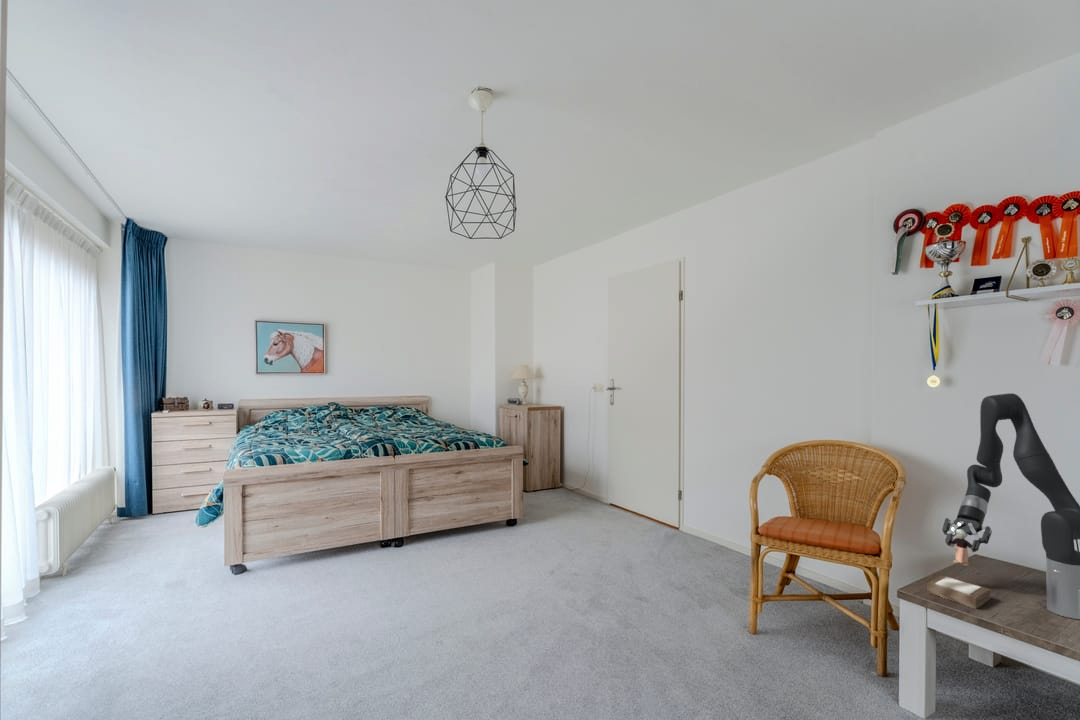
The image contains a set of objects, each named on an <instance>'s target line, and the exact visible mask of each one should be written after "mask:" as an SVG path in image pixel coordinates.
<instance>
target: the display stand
mask: <svg viewBox="0 0 1080 720" xmlns="http://www.w3.org/2000/svg"><path fill="white" fill-rule="evenodd" d="M927 592H929V593H932V594H935V595H938V596H940V597H939V598H941V597H943V598H942V599H944V598H946V599H945V600H947V599H949V600H948V601H950V600H952V601H951V602H953V601H955V602H954V603H956V602H958V603H957V604H959V603H960V605H962V604H963V605H962V606H965V605H966V607H968V606H969V608H972V609H974V610H976V609H978V608H980V607H981V606H982V605H984V604H985V602H986V603H987V602H988V600H989V601H990V600H991V589H990V588H986V587H984V586H980V585H977V584H973V583H969V582H966V581H962V580H960V579H956V578H953V577H950V576H945V575H940V576H937V577H936V578H934V579H932V580H930V581H929V582H927V583H926V593H927ZM935 595H934V596H935ZM938 596H937V597H938Z"/></svg>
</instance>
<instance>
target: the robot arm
mask: <svg viewBox="0 0 1080 720" xmlns="http://www.w3.org/2000/svg"><path fill="white" fill-rule="evenodd" d="M980 403H981V404H980V409H979V410H980V414H979V415H980V416H979V419H980V420H979V423H980V429H979V430H980V439H979V445H978V449H977V454H976V461H977V463H979V464H972V465H970V466H969V467H967V471H966V478H967V490H966V491H965V494H964V497H963V498H962V501H961V504H960V507H959V510H958V511H957V512H958V513H957V516H956V519H954V520H953V519H950V518H948V517H946V518H945V519H944V522H943V526H942V530H941V532H942V533H943V534H944V535H945V540H944V541H945V544H946V545H947V546H948V547H951V543H952V541H953V540H954V537H956V536H957V534H956V530H957V529H962V530H964V531H965V532H966V533H967V535H968V536H973V537H974V540H973V542H972V544H971V545H972V547H971V549H972V551H973V552H972V551H971V552H972V553H976V552H978V551H979V549H980V546H981V544H984V545H987V544H988V543H989V541H990V538H991V535H992V532H993V531H992V528H991V527H990V526H988V525H987V526H984V525H983V524H984V522H985V521H984V520H985V518H986V515H987V511H988V506H989V502H990V500H991V495H992V492H991V491H990V489H988V488H987V487H990V488H998V487H1000V486H1001V485H1002V483H1003V474H1002V469H1001V462H1002V461H1001V460H1002V457H1003V453H1004V444H1003V441H1002V439H1001V437H1000V436H999V434H998V432H997V429H996V428H997V424H998V423H999V421H1004V420H1010V422H1011V423H1012V425H1013V427H1014V431H1015V440H1014V441H1015V442H1014V446H1013V453H1012V455H1013V456H1012V457H1013V459H1014V461H1015V463H1016V465H1017V467H1018V469H1019V471H1020V473H1021V474H1022V476H1023V477H1024V478H1025V479H1026V480H1027V481H1028V482H1029V483H1030V484H1032V485H1033V487H1035V488H1036V489H1037V490H1039V491H1040V492H1041V493H1042V494H1043V495H1044V496H1045V497H1046V498H1047V499H1048V501H1049V502H1050V504H1051V506H1052V507H1053V510H1052V511H1047V512H1045V513H1044V514H1043V515H1042V517H1041V520H1040V531H1041V543H1042V547H1043V550H1044V551H1045V568H1046V569H1045V570H1046V571H1045V574H1046V579H1045V580H1046V609H1047V610H1048V611H1049V612H1051V613H1053V614H1056V615H1058V616H1061V617H1063V618H1064V617H1065V618H1069V619H1075V620H1080V551H1078V550H1076V549H1075V541H1076V540H1077V541H1078V540H1080V504H1079V502H1078V501H1077V500H1076V498H1075V496H1073V494H1072V493H1071V491H1070V489H1069V488H1068V485H1067V484H1066V482H1065V481H1064V479H1063V477H1062V475H1061V474H1060V472H1059V470H1058V469H1057V466H1056V464H1055V462H1054V460H1053V458H1052V457H1051V455H1050V453H1049V452H1048V450H1047V449H1046V447H1045V445H1044V443H1043V442H1042V440H1041V439H1042V438H1040V436H1039V433H1038V432H1037V430H1036V428H1035V425H1034V423H1033V421H1032V418H1031V415H1030V413H1029V411H1028V408H1027V406H1026V404H1025V403H1024V401H1023V400H1022V398H1021V397H1020V396H1019V395H1018V394H1016V393H1001V394H994V395H993V394H992V395H988V396H985V397H983V398H982V400H981V402H980ZM986 486H987V487H986ZM953 525H954V526H953ZM950 528H951V529H950ZM981 531H982V532H983V534H982V537H980V536H979V535H978V533H979V532H981ZM971 549H970V550H971Z"/></svg>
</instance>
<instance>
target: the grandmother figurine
mask: <svg viewBox="0 0 1080 720" xmlns="http://www.w3.org/2000/svg"><path fill="white" fill-rule="evenodd" d="M956 534H957V535H956V538H953V540H952V543H951V546H950V547H951V548H954V547H955V559H954V560H952V562H953V563H955V564H960V565H961V566H964V567H965V566H967V567H968V566H969V565H970V564H969V552H968V548H969V549H970V551H971V553H974V552H973V551H972V549H971V547H972V544H971V543H970V542H969V541H968V540H966V538H967V537H968V536H969V535H968V534H967V533H966V532H965V531H964V530H962V529H957V530H956Z"/></svg>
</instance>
